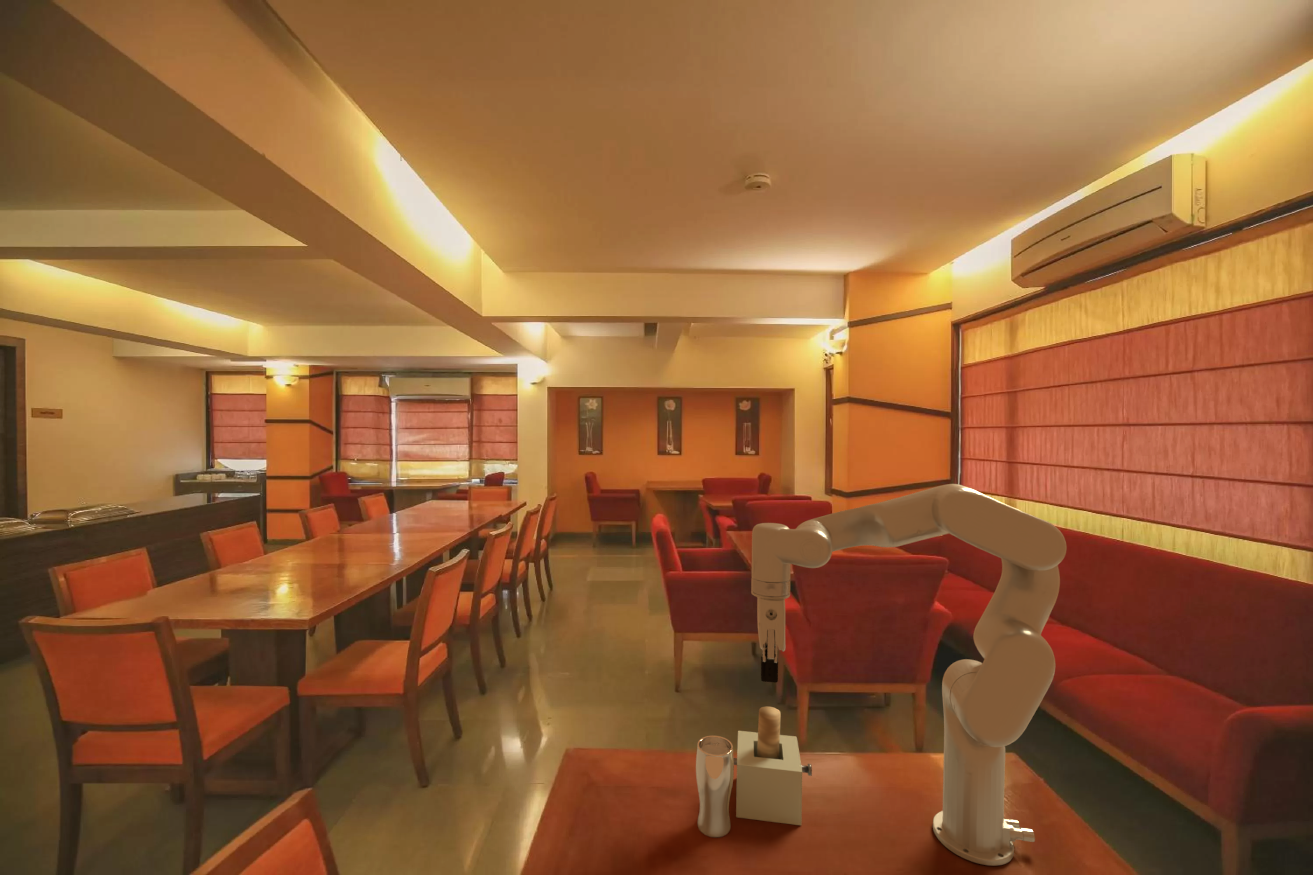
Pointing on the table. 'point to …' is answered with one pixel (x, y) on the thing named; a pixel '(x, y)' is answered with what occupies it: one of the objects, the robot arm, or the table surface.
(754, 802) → the socket
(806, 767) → the plunger
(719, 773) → the beer glass
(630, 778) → the table surface
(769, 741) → the peg
